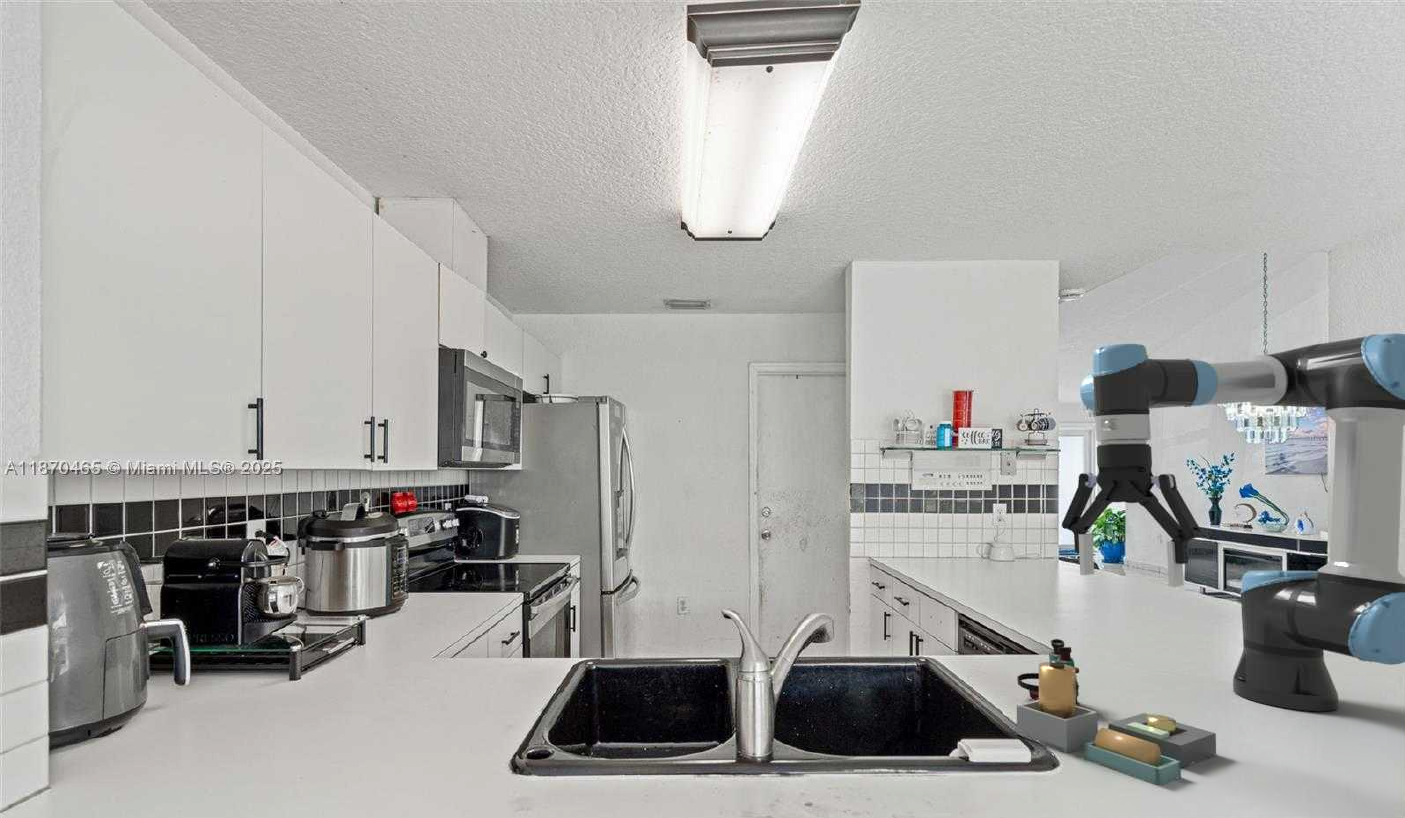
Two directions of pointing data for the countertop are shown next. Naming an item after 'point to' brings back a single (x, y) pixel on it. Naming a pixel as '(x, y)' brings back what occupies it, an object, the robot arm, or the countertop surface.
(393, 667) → the countertop surface
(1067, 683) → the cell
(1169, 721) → the yellow rounded lump
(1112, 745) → the trough
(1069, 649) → the binoculars
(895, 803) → the countertop surface
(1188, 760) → the base
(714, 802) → the countertop surface
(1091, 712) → the open box
